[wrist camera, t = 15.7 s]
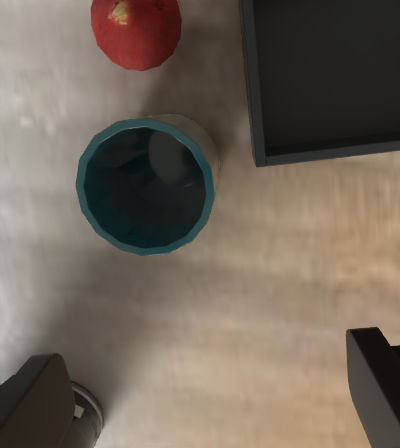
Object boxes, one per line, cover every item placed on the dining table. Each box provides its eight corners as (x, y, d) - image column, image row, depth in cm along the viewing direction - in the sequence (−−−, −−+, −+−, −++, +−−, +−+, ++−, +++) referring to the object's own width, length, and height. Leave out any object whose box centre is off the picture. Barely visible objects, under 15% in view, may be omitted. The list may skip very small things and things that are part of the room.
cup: (131, 217, 33) (93, 261, 24) (112, 121, 30) (61, 129, 21) (225, 207, 32) (221, 249, 23) (213, 107, 29) (204, 109, 20)
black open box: (252, 157, 30) (256, 167, 26) (236, -17, 27) (237, -43, 22) (471, 130, 28) (518, 136, 24) (486, -62, 25) (546, -101, 20)
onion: (112, -16, 27) (66, -61, 20) (190, -9, 27) (173, -52, 19) (110, 70, 29) (67, 59, 22) (184, 77, 29) (166, 69, 21)
